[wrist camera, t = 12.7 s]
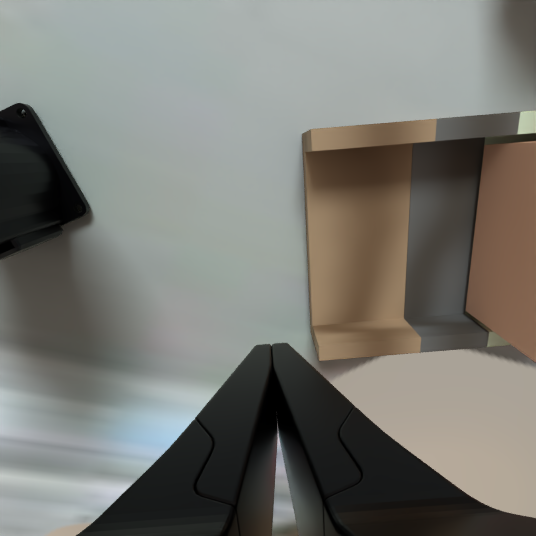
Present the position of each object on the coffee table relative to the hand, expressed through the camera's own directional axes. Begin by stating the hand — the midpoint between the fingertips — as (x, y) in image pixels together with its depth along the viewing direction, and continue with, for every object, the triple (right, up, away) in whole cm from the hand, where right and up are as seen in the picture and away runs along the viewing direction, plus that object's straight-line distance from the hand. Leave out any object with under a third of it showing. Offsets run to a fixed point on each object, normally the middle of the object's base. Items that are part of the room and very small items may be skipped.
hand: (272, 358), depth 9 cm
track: (+12, +5, +12) cm, 18 cm away
